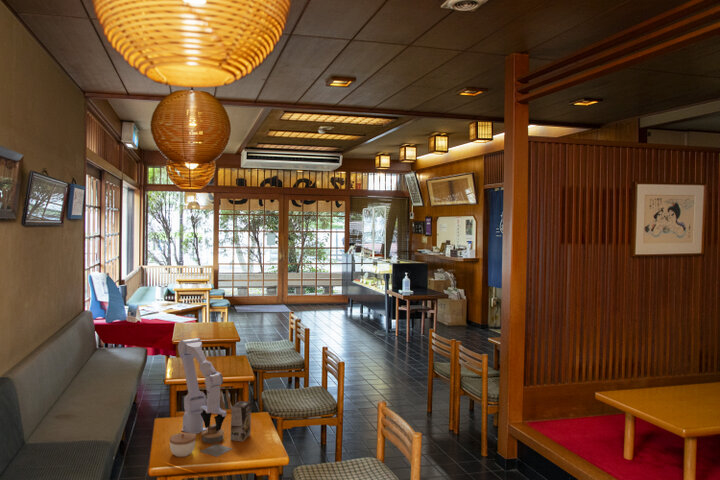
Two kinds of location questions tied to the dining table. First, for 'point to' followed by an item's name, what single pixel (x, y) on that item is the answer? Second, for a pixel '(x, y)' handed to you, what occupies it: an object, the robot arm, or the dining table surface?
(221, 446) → the mat
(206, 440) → the bowl
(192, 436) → the lidded jar
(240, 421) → the coffee box
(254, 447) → the dining table surface
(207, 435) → the lid
